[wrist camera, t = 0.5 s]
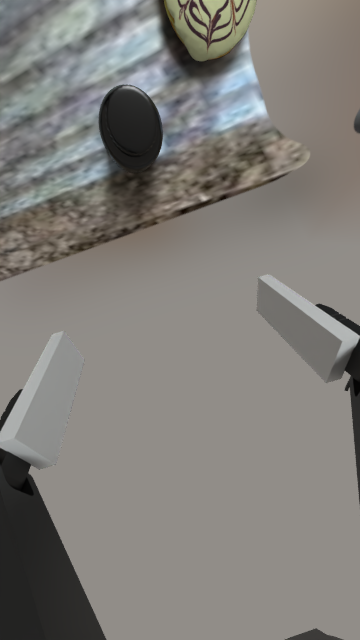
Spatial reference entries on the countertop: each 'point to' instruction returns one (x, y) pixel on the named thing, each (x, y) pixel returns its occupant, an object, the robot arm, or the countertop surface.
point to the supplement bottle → (130, 128)
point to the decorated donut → (210, 24)
